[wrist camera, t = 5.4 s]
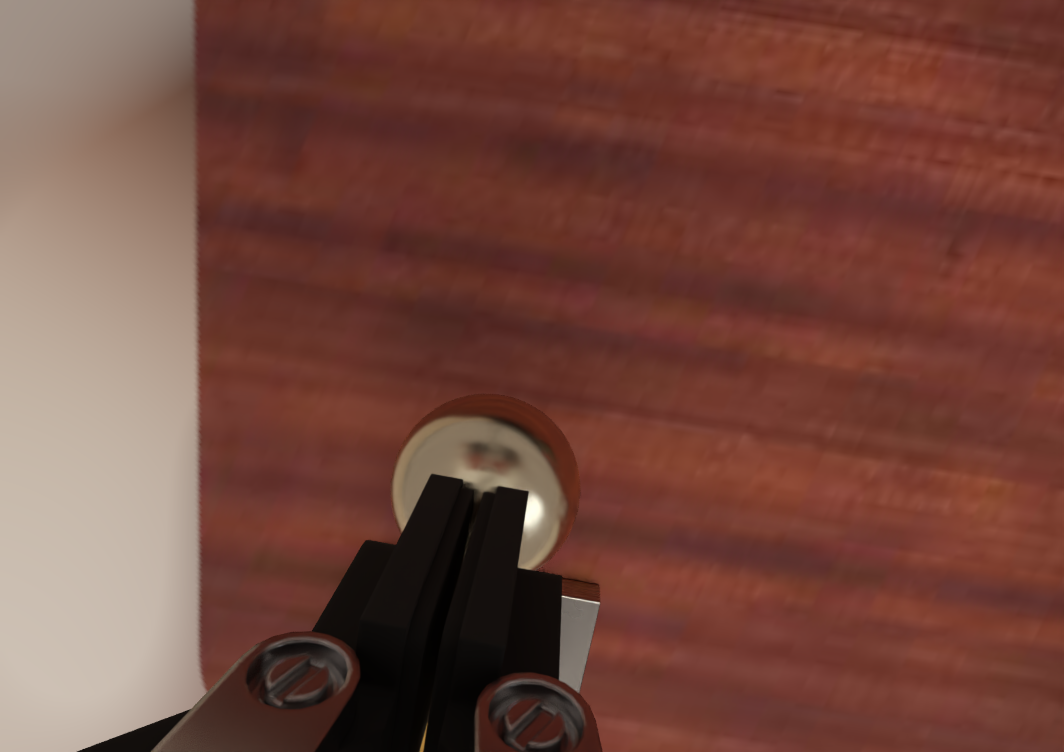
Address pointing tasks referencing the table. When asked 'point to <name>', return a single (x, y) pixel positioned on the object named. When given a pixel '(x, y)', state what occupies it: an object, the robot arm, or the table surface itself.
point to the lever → (494, 467)
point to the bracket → (577, 629)
